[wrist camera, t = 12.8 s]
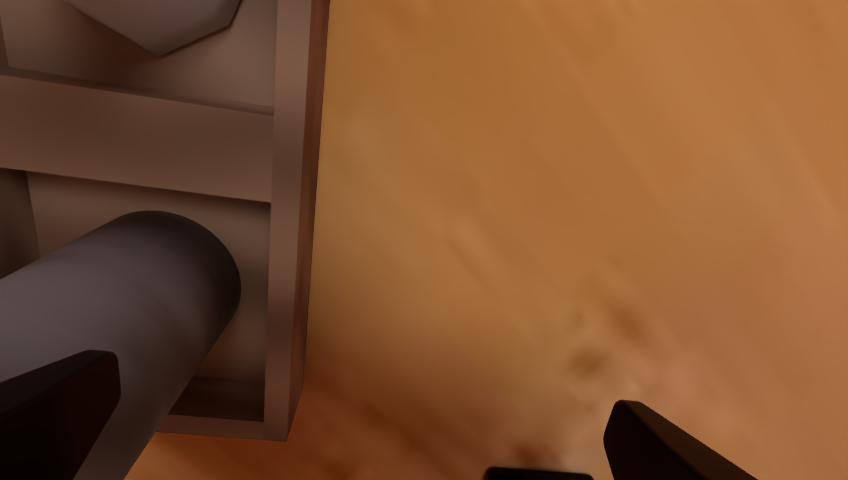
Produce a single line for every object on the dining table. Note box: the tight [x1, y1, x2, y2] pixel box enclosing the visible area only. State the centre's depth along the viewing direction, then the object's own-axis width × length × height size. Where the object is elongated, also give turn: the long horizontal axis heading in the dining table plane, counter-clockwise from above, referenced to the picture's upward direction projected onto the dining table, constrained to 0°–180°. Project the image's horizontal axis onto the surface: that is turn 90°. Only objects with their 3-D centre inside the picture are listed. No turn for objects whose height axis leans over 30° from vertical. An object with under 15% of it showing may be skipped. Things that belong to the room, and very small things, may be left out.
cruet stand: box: [0, 0, 330, 480], centre depth 13 cm, size 25×12×10 cm, turn 171°
